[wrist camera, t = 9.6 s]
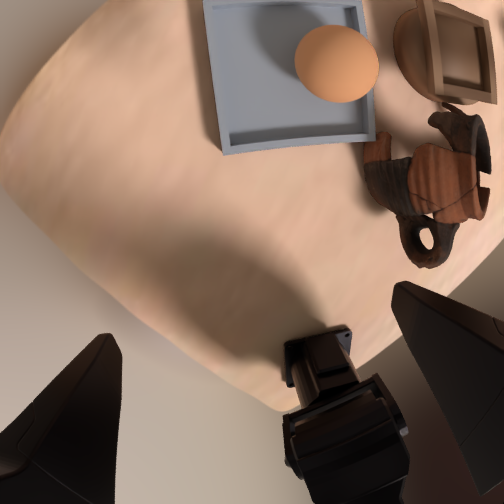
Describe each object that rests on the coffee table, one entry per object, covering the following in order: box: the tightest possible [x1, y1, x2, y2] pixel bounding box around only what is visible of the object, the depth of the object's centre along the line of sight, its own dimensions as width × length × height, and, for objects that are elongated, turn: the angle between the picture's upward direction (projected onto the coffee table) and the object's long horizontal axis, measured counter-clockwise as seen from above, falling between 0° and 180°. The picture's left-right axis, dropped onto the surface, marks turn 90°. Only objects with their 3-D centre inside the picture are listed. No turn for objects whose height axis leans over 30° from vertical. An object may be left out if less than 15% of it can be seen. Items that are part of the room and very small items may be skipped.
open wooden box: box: [393, 0, 497, 105], centre depth 15 cm, size 8×8×4 cm
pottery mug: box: [364, 102, 491, 269], centre depth 19 cm, size 12×10×8 cm
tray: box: [203, 0, 376, 156], centre depth 16 cm, size 10×10×2 cm
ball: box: [294, 25, 379, 103], centre depth 15 cm, size 5×5×5 cm
